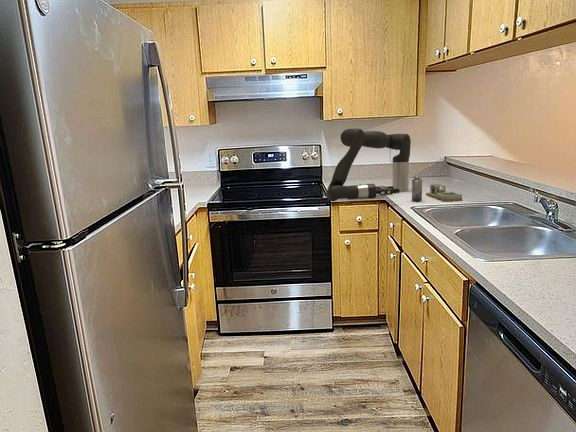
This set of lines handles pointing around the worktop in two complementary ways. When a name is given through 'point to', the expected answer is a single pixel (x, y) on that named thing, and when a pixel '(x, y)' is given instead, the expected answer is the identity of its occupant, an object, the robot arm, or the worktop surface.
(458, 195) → the hub seat
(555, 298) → the worktop surface
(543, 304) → the worktop surface
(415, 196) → the grey bottle
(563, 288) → the worktop surface
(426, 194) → the base board
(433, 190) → the shaft and pillow blocks
